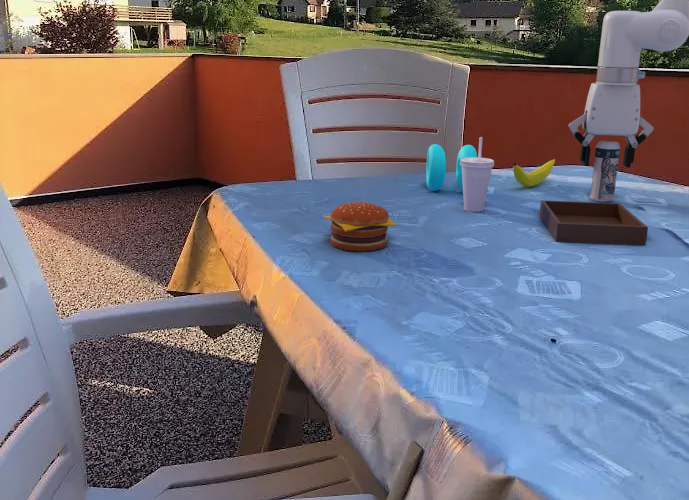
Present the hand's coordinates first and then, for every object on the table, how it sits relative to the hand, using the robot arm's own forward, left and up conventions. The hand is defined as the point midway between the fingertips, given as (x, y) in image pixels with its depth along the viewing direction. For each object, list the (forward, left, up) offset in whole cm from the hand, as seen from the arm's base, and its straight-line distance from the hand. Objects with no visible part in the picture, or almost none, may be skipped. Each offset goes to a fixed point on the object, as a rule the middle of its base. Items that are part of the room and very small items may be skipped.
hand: (605, 165), depth 144 cm
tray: (+8, +25, -7) cm, 27 cm away
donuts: (+31, -4, -7) cm, 32 cm away
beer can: (0, 0, -7) cm, 7 cm away
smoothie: (+27, +13, -7) cm, 31 cm away
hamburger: (+47, +40, -7) cm, 62 cm away
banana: (+12, -13, -8) cm, 19 cm away
